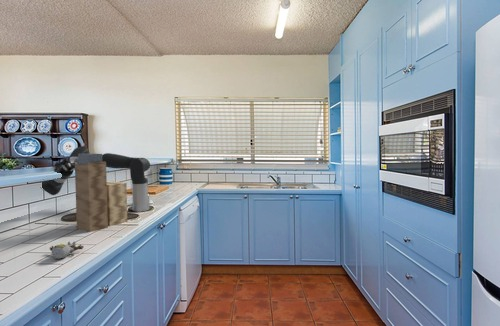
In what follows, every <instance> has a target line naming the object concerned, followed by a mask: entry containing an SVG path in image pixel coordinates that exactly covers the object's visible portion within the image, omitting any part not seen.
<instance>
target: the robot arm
mask: <svg viewBox="0 0 500 326" xmlns="http://www.w3.org/2000/svg"><path fill="white" fill-rule="evenodd" d="M78 154H91V153H90V151H89V149H88V147H87V146H85V145H83V146H82V145H81V146H78V147H76V148H75V149H73V150H72V152H71V154H70V155H69V156H68V157H65V158H64V159H62V160H61V161H60V162H59V161H56V162H55V163H54V165H53V166H52V169H53V173H54V172H57V173H61V174H62V177H61V178H57V179H53V180H49V181H44V182H42V188H43V189H44V190H43V189H42V188H41V189H42V190H43V191H45V192H46V193H47V194H49V195H51V196H56V195H58V194H59V193H60V192H61V190H62V187H63V185H64V183H65V182H66V181H67V180H68V179H70V177H71V176H72V175H73V173H74V172H75V164H78V162H70V157H78ZM102 162H106V168H109V169H129V172H130V180H131V187H132V188H131V191H132V193H131V196H132V211H133V212H135V213H136V212H137V213H138V212H139V213H141V212H146V211H148V210H150V194H149V189H148V187H149V185H148V183H149V182H148V178H147V177H145V172H146V171H148V170H150V167H151V163H150V161H149V159H148V158H146V157H131V156H126V155H122V154H117V153H111V152H110V153H109V152H106V153H102Z"/></svg>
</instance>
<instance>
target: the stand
mask: <svg viewBox="0 0 500 326" xmlns="http://www.w3.org/2000/svg"><path fill="white" fill-rule="evenodd" d="M74 181H75V183H74V184H75V188H74V189H75V210H76V211H75V215H76V218H75V219H76V229H79V230H82V231H85V232H89V233H91V232H94V231H95V232H96V231H101V230H104V229H107V228H109V227H108V226H109V225H108V218H107V182H108V181H107V167H106V162H87V165H85V164H75V170H74Z"/></svg>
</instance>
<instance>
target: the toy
mask: <svg viewBox="0 0 500 326" xmlns="http://www.w3.org/2000/svg"><path fill="white" fill-rule="evenodd" d="M76 245H77V244H76V241H73V242H72V245H71V241H68V242H67V244H63V243H60V244H56V245H55V246H54V245H51V247H49V250H50V251H51V256H52V257H53V258H54V259H57V260H62V259H64V258H66V257H68V256H72V257H73V256H75V254H74V253H72V252H75V251H78V250H83V249H84V245H82V244H79V245H77V246H76ZM69 253H71V254H69ZM61 258H62V259H61Z"/></svg>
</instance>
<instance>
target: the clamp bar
mask: <svg viewBox="0 0 500 326" xmlns="http://www.w3.org/2000/svg"><path fill="white" fill-rule="evenodd" d="M102 155H103V153H90V154H78V157H70V162H78V164H85V165H87V162H102Z"/></svg>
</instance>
